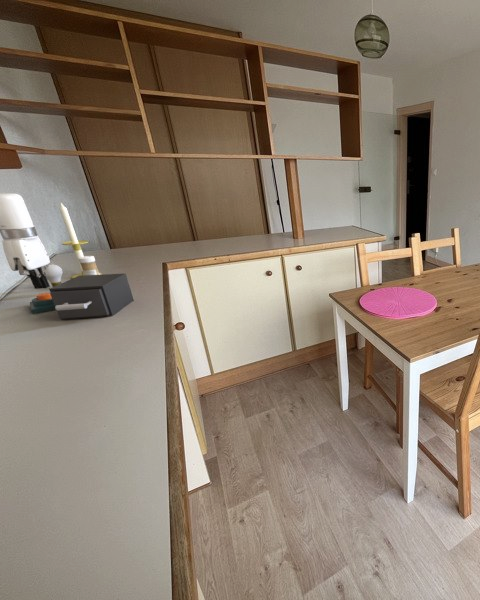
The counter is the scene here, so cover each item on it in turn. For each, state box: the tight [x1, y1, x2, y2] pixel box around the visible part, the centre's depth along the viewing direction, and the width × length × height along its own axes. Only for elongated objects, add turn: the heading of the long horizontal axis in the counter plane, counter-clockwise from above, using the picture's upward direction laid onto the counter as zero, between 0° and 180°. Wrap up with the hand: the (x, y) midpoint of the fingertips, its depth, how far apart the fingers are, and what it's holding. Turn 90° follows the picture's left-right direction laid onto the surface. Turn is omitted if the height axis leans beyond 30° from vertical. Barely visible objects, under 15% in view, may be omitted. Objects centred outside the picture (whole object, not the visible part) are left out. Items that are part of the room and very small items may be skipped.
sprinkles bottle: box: [77, 255, 100, 275], centre depth 124 cm, size 5×5×14 cm
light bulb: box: [44, 263, 64, 287], centre depth 125 cm, size 6×6×10 cm
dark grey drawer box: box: [48, 273, 135, 321], centre depth 106 cm, size 15×14×11 cm
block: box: [29, 297, 57, 315], centre depth 108 cm, size 10×8×4 cm
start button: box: [36, 292, 52, 300], centre depth 107 cm, size 4×4×2 cm
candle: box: [59, 202, 102, 279], centre depth 137 cm, size 10×10×32 cm
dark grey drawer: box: [49, 288, 109, 320], centre depth 103 cm, size 18×12×9 cm
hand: (42, 287), depth 106 cm, fingers closed
